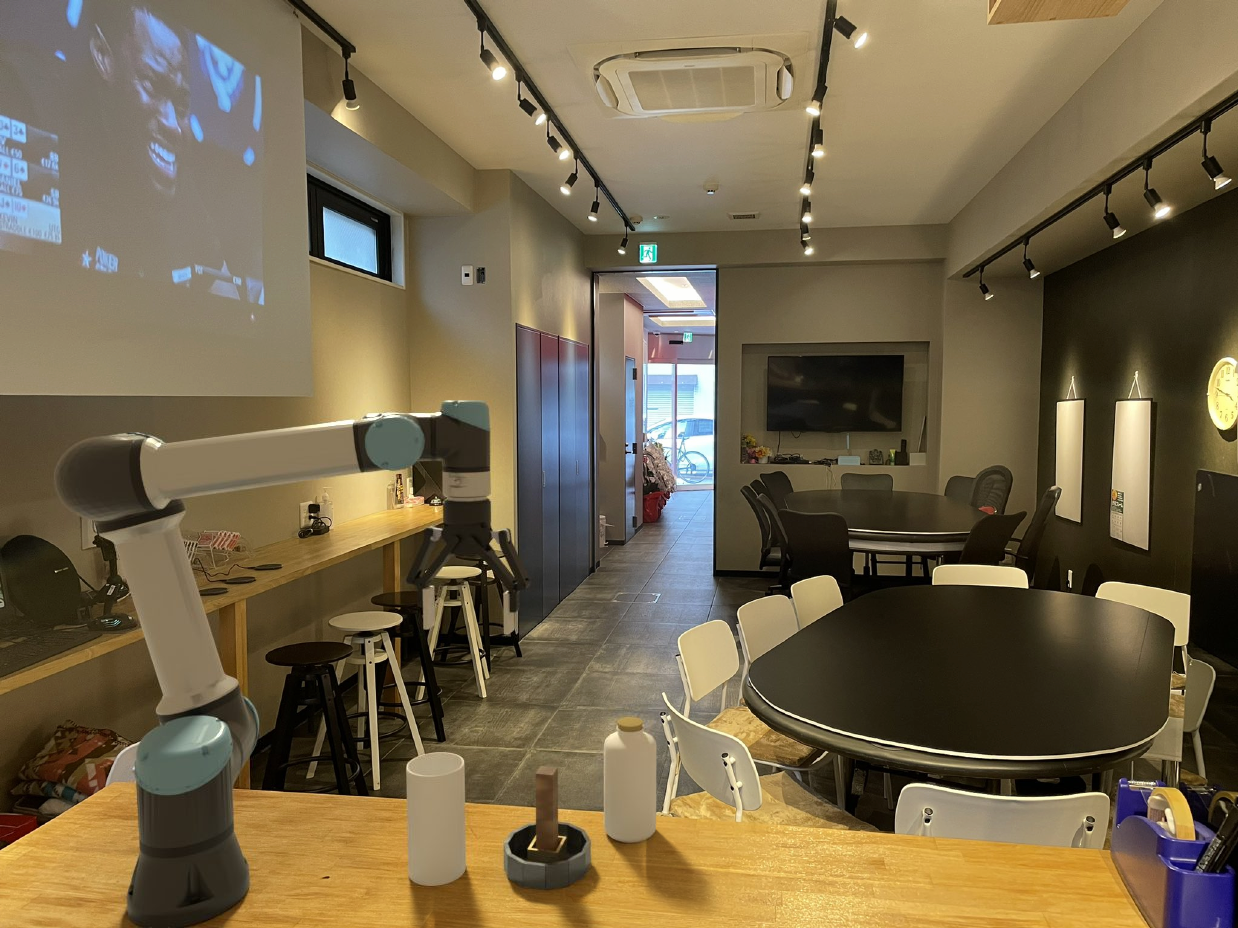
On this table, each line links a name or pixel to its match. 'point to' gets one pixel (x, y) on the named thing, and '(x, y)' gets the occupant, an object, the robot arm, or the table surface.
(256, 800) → the table surface
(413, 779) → the cup
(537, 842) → the square wooden stick
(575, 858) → the bowl
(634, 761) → the potion bottle
